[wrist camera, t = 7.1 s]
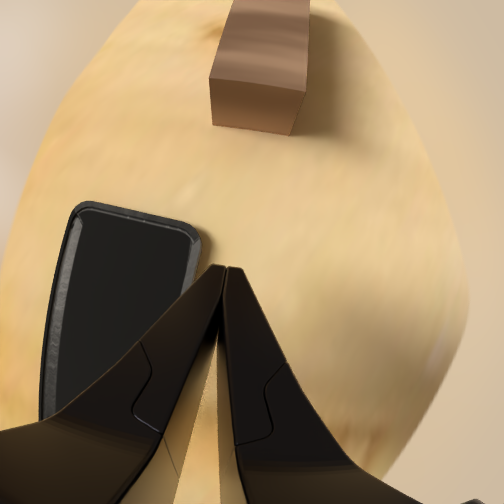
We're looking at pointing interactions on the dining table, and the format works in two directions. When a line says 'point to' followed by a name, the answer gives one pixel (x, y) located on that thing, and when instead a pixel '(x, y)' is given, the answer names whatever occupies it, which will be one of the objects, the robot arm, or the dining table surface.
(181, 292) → the phone
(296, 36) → the walnut block
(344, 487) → the robot arm
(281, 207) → the dining table surface
